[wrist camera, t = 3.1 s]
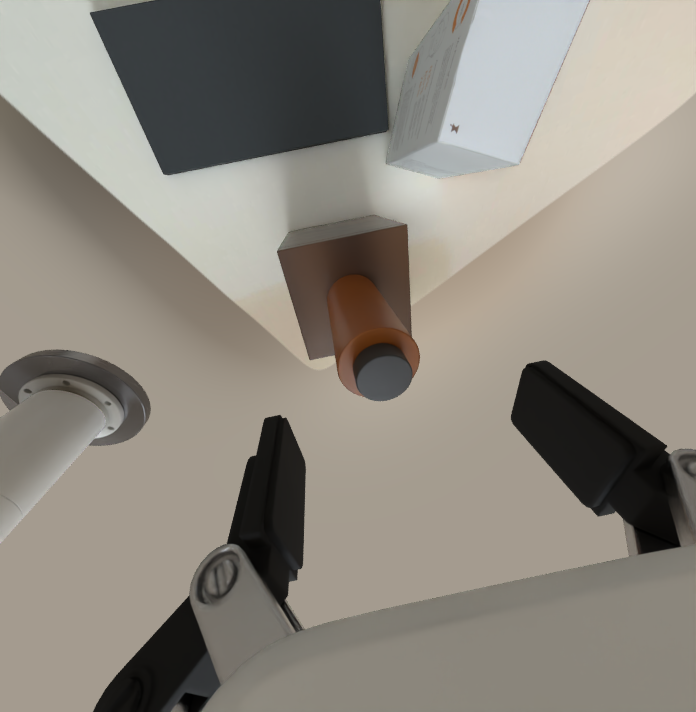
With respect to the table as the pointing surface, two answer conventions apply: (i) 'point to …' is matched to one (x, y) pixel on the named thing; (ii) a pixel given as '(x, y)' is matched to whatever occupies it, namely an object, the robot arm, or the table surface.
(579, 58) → the table surface
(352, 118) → the mat
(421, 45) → the small box
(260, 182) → the table surface
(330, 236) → the bronze lidded cube
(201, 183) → the table surface
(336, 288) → the spice bottle
